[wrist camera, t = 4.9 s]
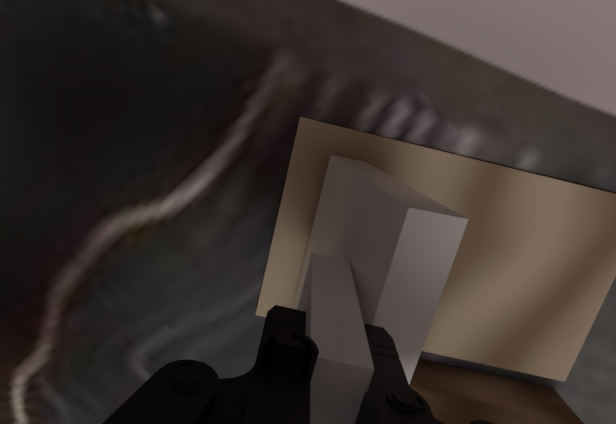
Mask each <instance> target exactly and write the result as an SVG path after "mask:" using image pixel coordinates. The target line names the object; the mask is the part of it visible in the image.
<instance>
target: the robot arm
mask: <svg viewBox="0 0 616 424" xmlns="http://www.w3.org/2000/svg"><path fill="white" fill-rule="evenodd" d="M102 424H445V423H443V422H441V421H439V420H437V419H435V418H434V416H433V414H432V411H431V409H430V407H429V405H428V403H427V402H426V400H425V399H424V398H423V397H422V396H421V395H420V394H419V393H418V392H417V391H415V390H413V389H412V388H410V387H409V384H408V381H407V378H406V375H405V372H404V369H403V366H402V364H401V361H400V360H399V355H398V352H397V351H396V346H395V343H394V340H393V338H392V337H391V336H390V335H389V333H388V332H387V331H386V330H385V329H384V328H383V327H378V326H374V325H369V324H365V323H363V319H362V315H361V310H360V306H359V302H358V297H357V293H356V289H355V285H354V280H353V276H352V272H351V267H350V263H349V261H347V260H343V259H338V258H334V257H330V256H325V255H321V254H316V253H312V254H311V258H310V262H309V266H308V270H307V273H306V277H305V281H304V285H303V289H302V293H301V297H300V301H299V305H298V309H297V310H296V309H292V308H287V307H283V306H278V305H275V306H274V307H273V308H271V309H270V310H269V311H268V312H267V316H266V320H265V324H264V328H263V333H262V337H261V341H260V345H259V350H258V354H257V358H256V363H255V365H254V367H253V368H252V369H251V370H250V371H249V372H247V373H246V374H244V375H241V376H238V377H235V378H225V379H218V375H217V374H216V372H215V371H214V370H213V368H212V367H210V366H208V365H206V364H205V363H203V362H199V361H195V360H178V361H174V362H171V363H168V364H166V365H165V366H163V367H162V368H160V369H159V370H158V371H157V372H156V373H155V374H154V375H153V376H152V377H151V378H149V379H148V380H147V381H146V382H145V383H144V384H143V385H142V386H141V387H140V388H139V389H138V390H137V391H136V392H135V393H134V394H133V395H132V396H131V397H130V398H129V399H127V400H126V401H125V402H124V403H123V404H122V405H121V406H120V407H119V408H118V409H117V410H116V411H115V412H114V413H113V414H112V415H111V416H110V417H109V418H108V419H107V420H105V421H104V422H103V423H102ZM469 424H494V423H492V422H489V421H484V420H475V421H471V422H470V423H469Z"/></svg>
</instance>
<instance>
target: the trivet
mask: <svg viewBox="0 0 616 424" xmlns="http://www.w3.org/2000/svg"><path fill="white" fill-rule="evenodd" d="M331 154H332V155H336V156H341V157H345V158H350V159H354V160H359V161H363V162H366V163H368V164H370V165H372V166H374V167H375V168H377V169H379V170H381V171H383V172H384V173H386V174H388V175H390V176H392V177H393V178H395V179H397V180H399V181H401V182H402V183H404V184H406V185H408V186H410V187H411V188H413V189H415V190H417V191H419V192H420V193H422V194H424V195H426V196H428V197H429V198H431V199H433V200H435V201H437V202H438V203H440V204H442V205H444V206H446V207H447V208H449V209H451V210H453V211H455V212H456V213H458V214H460V215H462V216H464V217H465V218H467V219H469V220H468V222H467V225H466V228H465V231H464V234H463V237H462V239H461V242H460V245H459V248H458V251H457V253H456V256H455V259H454V262H453V264H452V267H451V270H450V273H449V276H448V278H447V281H446V284H445V287H444V290H443V292H442V295H441V298H440V301H439V304H438V306H437V309H436V312H435V315H434V317H433V320H432V323H431V326H430V329H429V331H428V334H427V337H426V340H425V343H424V345H423V348H422V351H425V352H429V353H434V354H439V355H443V356H448V357H453V358H457V359H462V360H466V361H471V362H476V363H480V364H485V365H490V366H494V367H499V368H503V369H508V370H513V371H517V372H522V373H527V374H531V375H536V376H541V377H545V378H550V379H554V380H559V381H564V382H565V381H566V378H567V376H568V374H569V372H570V370H571V368H572V366H573V364H574V362H575V360H576V358H577V356H578V353H579V351H580V349H581V347H582V345H583V343H584V341H585V339H586V337H587V335H588V333H589V331H590V328H591V326H592V324H593V322H594V320H595V318H596V316H597V314H598V312H599V310H600V308H601V306H602V303H603V301H604V299H605V297H606V295H607V293H608V291H609V289H610V287H611V285H612V283H613V281H614V278H615V276H616V194H615V193H611V192H607V191H603V190H599V189H595V188H591V187H587V186H582V185H578V184H574V183H570V182H566V181H562V180H558V179H554V178H550V177H546V176H542V175H537V174H533V173H529V172H525V171H521V170H517V169H513V168H509V167H505V166H501V165H496V164H492V163H488V162H484V161H480V160H476V159H472V158H468V157H464V156H460V155H456V154H451V153H447V152H443V151H439V150H435V149H431V148H427V147H423V146H419V145H415V144H411V143H406V142H402V141H398V140H394V139H390V138H386V137H382V136H378V135H374V134H370V133H365V132H361V131H357V130H353V129H349V128H345V127H341V126H337V125H333V124H329V123H325V122H320V121H316V120H312V119H308V118H304V117H300V119H299V124H298V128H297V133H296V137H295V141H294V146H293V150H292V155H291V159H290V164H289V168H288V173H287V177H286V181H285V186H284V190H283V195H282V199H281V204H280V208H279V213H278V217H277V221H276V226H275V230H274V235H273V239H272V244H271V248H270V252H269V257H268V261H267V266H266V270H265V275H264V279H263V284H262V288H261V292H260V297H259V301H258V306H257V310H256V315H258V316H263V317H266V316H267V312H268V311H269V310H270V309H271V308H273V307H274V306H275V305H278V306H283V307H287V308H292V309H295V308H294V304H293V302H294V298H295V294H296V291H297V287H298V283H299V279H300V275H301V271H302V267H303V263H304V259H305V255H306V251H307V247H308V243H309V239H310V235H311V231H312V227H313V223H314V219H315V215H316V211H317V207H318V203H319V199H320V195H321V191H322V187H323V183H324V179H325V175H326V171H327V167H328V163H329V159H330V155H331Z"/></svg>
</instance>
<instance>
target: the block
mask: <svg viewBox="0 0 616 424" xmlns="http://www.w3.org/2000/svg"><path fill="white" fill-rule="evenodd" d="M468 220H469V219H467V218H465V217H464V216H462V215H460V214H458V213H456V212H455V211H453V210H451V209H449V208H447V207H446V206H444V205H442V204H440V203H438V202H437V201H435V200H433V199H431V198H429V197H428V196H426V195H424V194H422V193H420V192H419V191H417V190H415V189H413V188H411V187H410V186H408V185H406V184H404V183H402V182H401V181H399V180H397V179H395V178H393V177H392V176H390V175H388V174H386V173H384V172H383V171H381V170H379V169H377V168H375V167H374V166H372V165H370V164H368V163H366V162H363V161H359V160H354V159H350V158H345V157H341V156H336V155H332V154H331V155H330V159H329V163H328V167H327V171H326V175H325V179H324V183H323V187H322V191H321V195H320V199H319V203H318V207H317V211H316V215H315V219H314V223H313V227H312V231H311V235H310V239H309V243H308V247H307V251H306V255H305V259H304V263H303V267H302V271H301V275H300V279H299V283H298V287H297V291H296V294H295V298H294V302H293V304H294V308H295V309H296V310H297V309H298V305H299V301H300V297H301V293H302V289H303V285H304V281H305V277H306V273H307V270H308V266H309V262H310V258H311V254H312V253H316V254H321V255H325V256H330V257H334V258H338V259H343V260H347V261H349V263H350V267H351V272H352V276H353V280H354V285H355V289H356V293H357V297H358V302H359V306H360V310H361V315H362V319H363V323H365V324H369V325H374V326H378V327H383V328H384V329H385V330H386V331H387V332H388V333H389V335H390V336H391V337H392V338H393V340H394V343H395V346H396V351H397V352H398V355H399V360H400V361H401V364H402V366H403V369H404V372H405V375H406V378H407V381H408V384H410V382H411V379H412V376H413V373H414V370H415V368H416V365H417V362H418V359H419V356H420V354H421V351H422V348H423V345H424V343H425V340H426V337H427V334H428V331H429V329H430V326H431V323H432V320H433V317H434V315H435V312H436V309H437V306H438V304H439V301H440V298H441V295H442V292H443V290H444V287H445V284H446V281H447V278H448V276H449V273H450V270H451V267H452V264H453V262H454V259H455V256H456V253H457V251H458V248H459V245H460V242H461V239H462V237H463V234H464V231H465V228H466V225H467V222H468Z"/></svg>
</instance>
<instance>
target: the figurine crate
mask: <svg viewBox="0 0 616 424" xmlns="http://www.w3.org/2000/svg"><path fill="white" fill-rule="evenodd" d="M409 387H410V388H412V389H413V390H415V391H417V392H418V393H419V394H420V395H421V396H422V397H423V398H424V399H425V400H426V402H427V403H428V405H429V407H430V409H431V411H432V414H433V416H434V418H435V419H437V420H439V421H441V422H443V423H445V424H469V423H470V422H471V421H475V420H484V421H489V422H492V423H494V424H584V423H583V422H582V421H581V420H580V419H579V418H578V416H577V415H576V414H575V413H574V412H573V411H572V410H571V408H570V407H569V406H568V405H567V404H566V403H565V401H564V400H563V399H562V398H561V397H560V396H559V395H558V393H557V392H556V391H555V390H554V389H553V388H552V387H547V386H542V385H538V384H533V383H529V382H524V381H519V380H515V379H510V378H505V377H501V376H496V375H491V374H487V373H482V372H477V371H473V370H468V369H463V368H459V367H454V366H449V365H445V364H440V363H435V362H431V361H426V360H421V359H418V362H417V365H416V368H415V370H414V373H413V376H412V379H411V382H410V384H409Z"/></svg>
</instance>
